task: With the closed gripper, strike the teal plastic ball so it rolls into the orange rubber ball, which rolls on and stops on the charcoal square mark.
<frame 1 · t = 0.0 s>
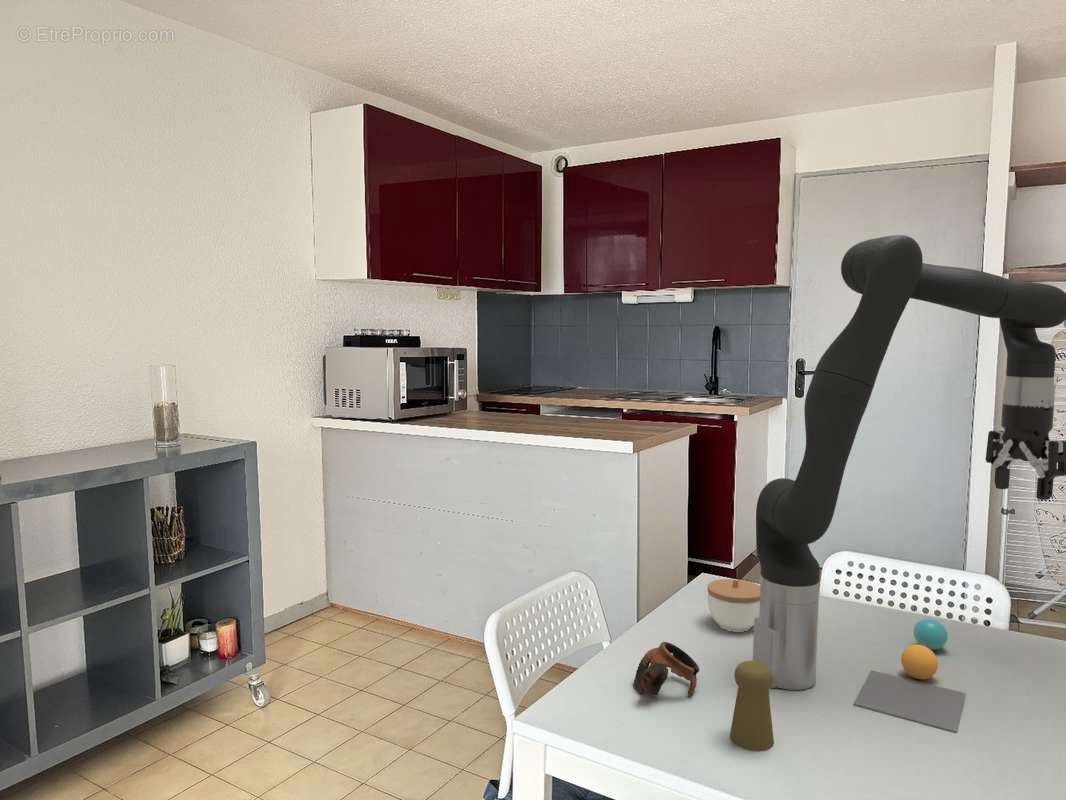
hand: (1022, 493, 131), 29 cm above the table, tool pointing down, fingers open, 8 cm apart
teal cue ball: (930, 634, 135), on the table
olive pepper mill: (751, 740, 105), on the table
brown smartwatch: (661, 692, 119), on the table
lidded jar: (734, 627, 146), on the table
charcoal mark: (910, 699, 117), on the table
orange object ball: (919, 661, 124), on the table
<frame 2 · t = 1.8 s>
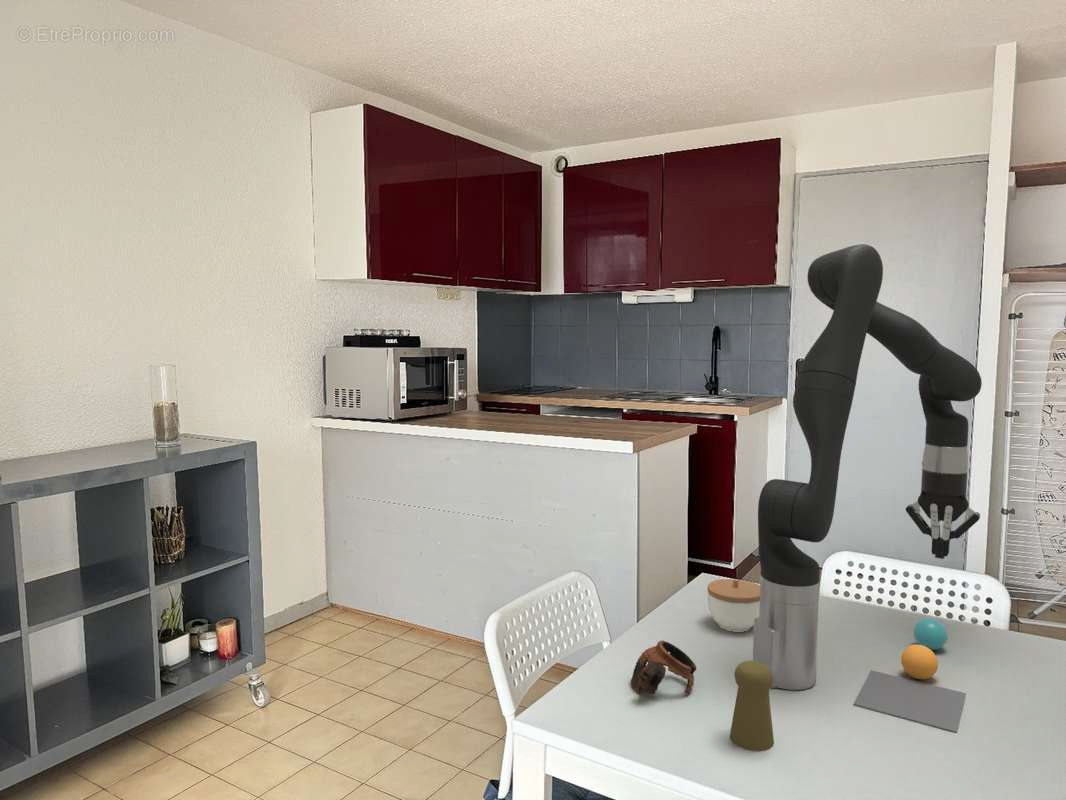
hand: (939, 557, 142), 15 cm above the table, tool pointing down, fingers closed
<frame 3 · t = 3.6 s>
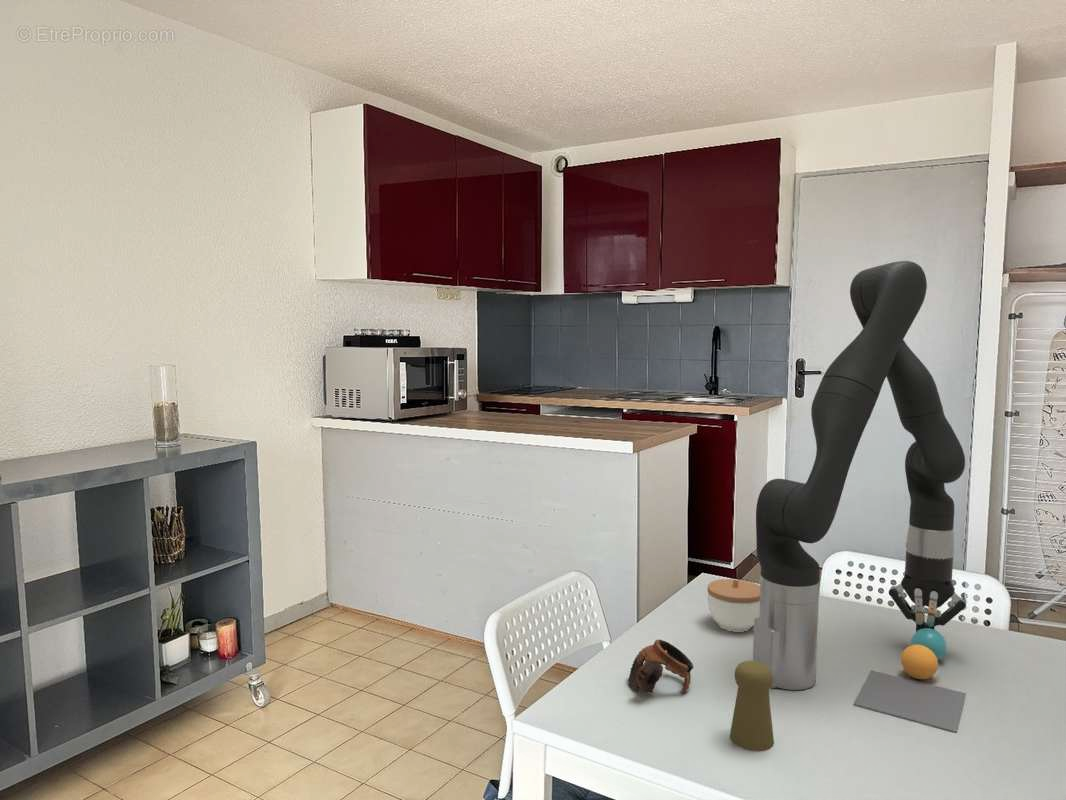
hand: (924, 643, 135), 1 cm above the table, tool pointing down, fingers closed
teal cue ball: (928, 644, 131), on the table
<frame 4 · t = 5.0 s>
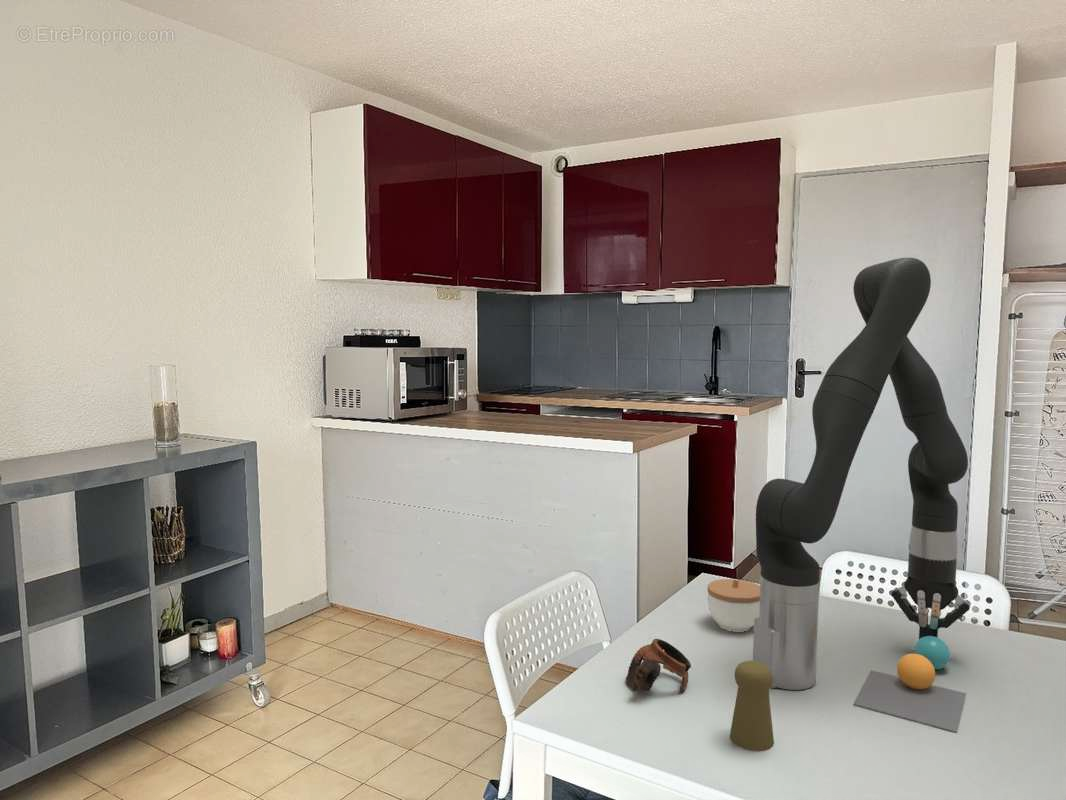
hand: (927, 646, 133), 2 cm above the table, tool pointing down, fingers closed
teal cue ball: (932, 652, 127), on the table
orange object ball: (915, 671, 120), on the table
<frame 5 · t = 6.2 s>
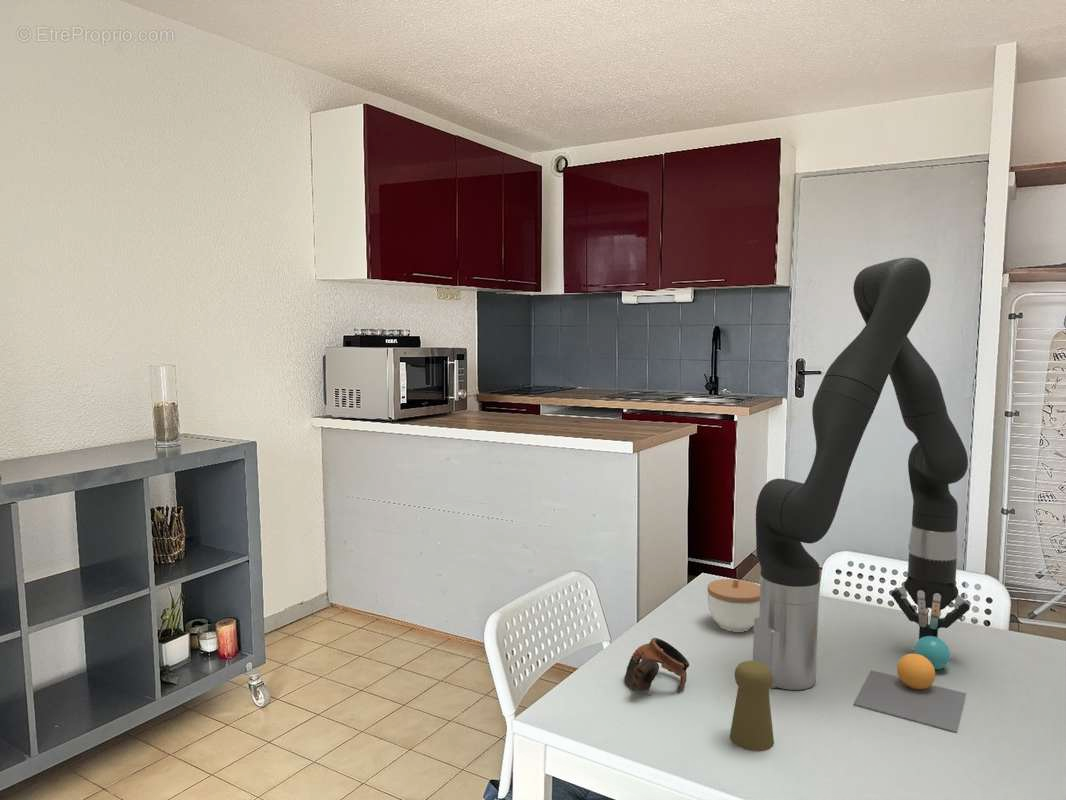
hand: (927, 646, 133), 2 cm above the table, tool pointing down, fingers closed
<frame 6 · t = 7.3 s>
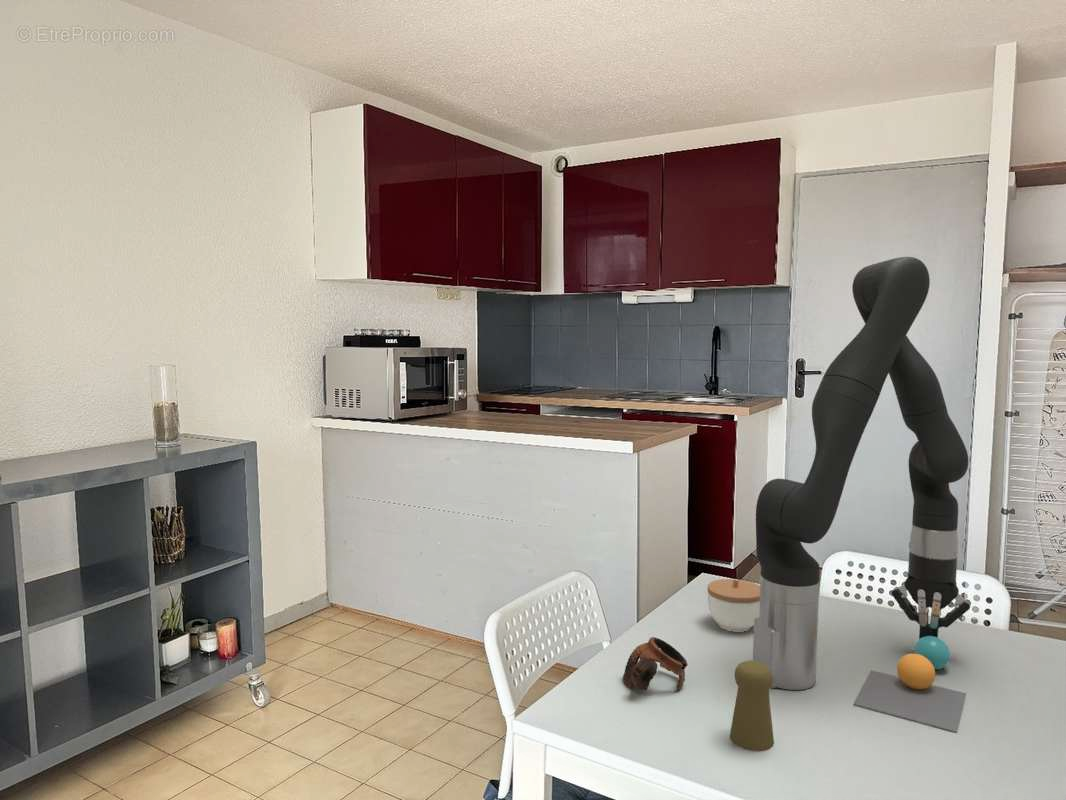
hand: (927, 645, 133), 2 cm above the table, tool pointing down, fingers closed
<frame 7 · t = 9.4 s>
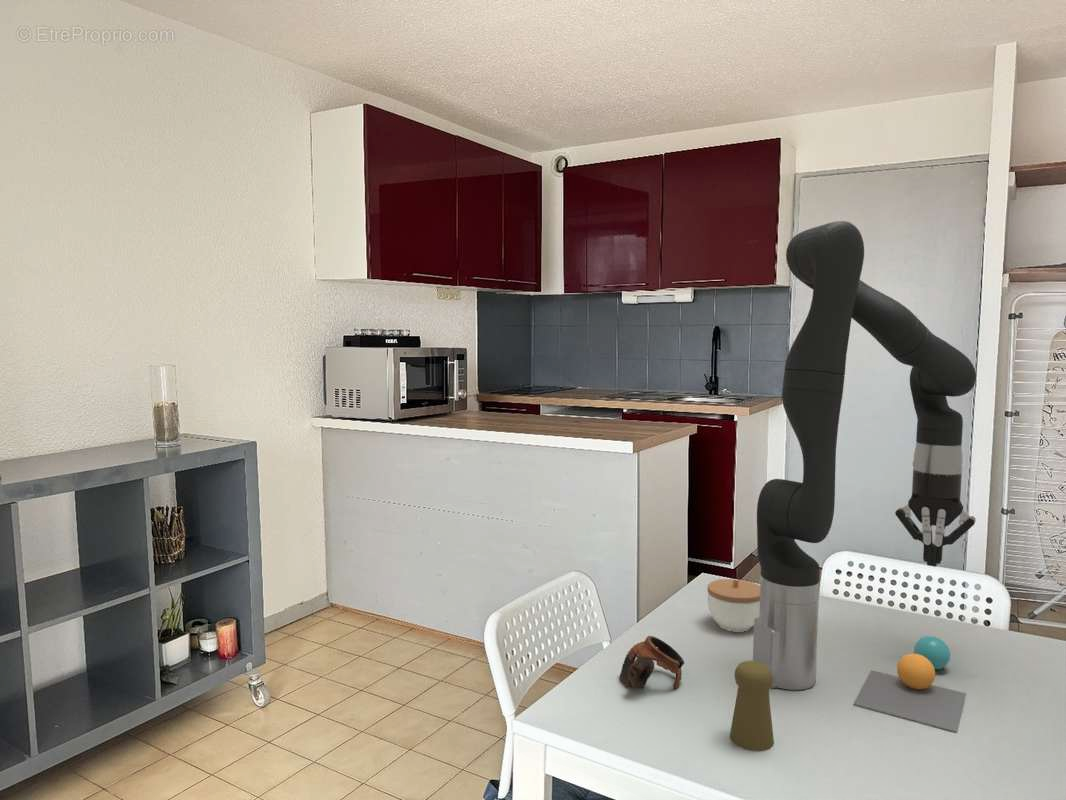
hand: (932, 564, 132), 16 cm above the table, tool pointing down, fingers closed
at the end: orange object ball 4.8 cm from the charcoal mark (horizontally); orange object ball never touched the robot; teal cue ball first touched orange object ball at 3.8 s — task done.
